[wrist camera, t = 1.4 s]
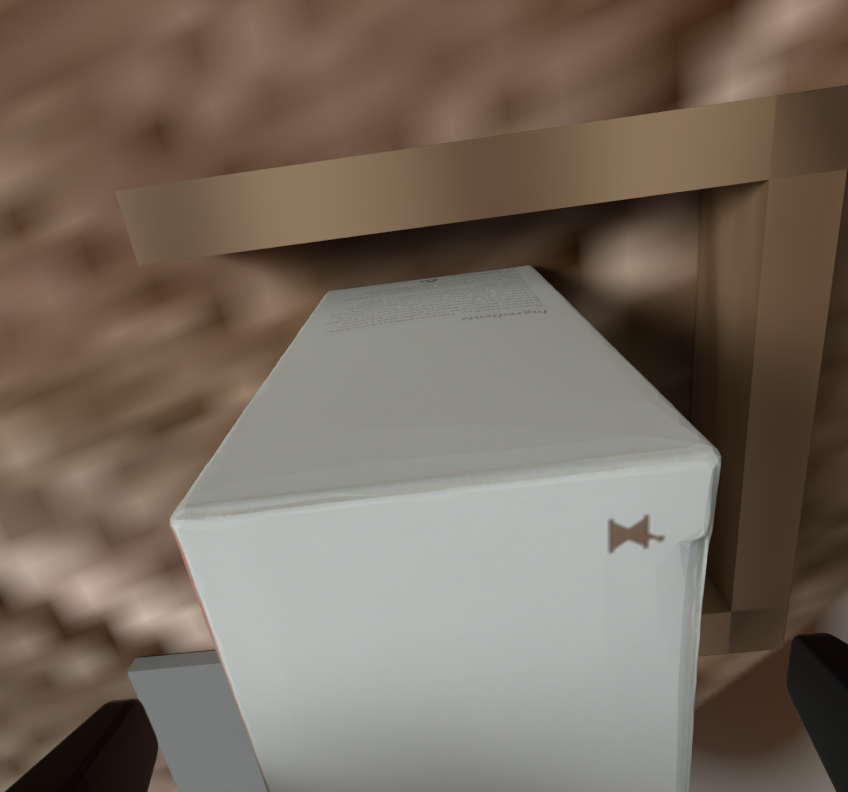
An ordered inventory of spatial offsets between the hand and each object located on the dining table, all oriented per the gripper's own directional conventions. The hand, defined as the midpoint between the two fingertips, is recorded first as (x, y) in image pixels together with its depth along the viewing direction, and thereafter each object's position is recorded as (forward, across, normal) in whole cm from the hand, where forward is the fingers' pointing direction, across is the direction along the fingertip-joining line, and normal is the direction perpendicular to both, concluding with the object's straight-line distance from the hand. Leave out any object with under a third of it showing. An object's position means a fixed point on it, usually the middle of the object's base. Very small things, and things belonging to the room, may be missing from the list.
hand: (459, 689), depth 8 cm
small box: (+10, 0, 0) cm, 10 cm away
